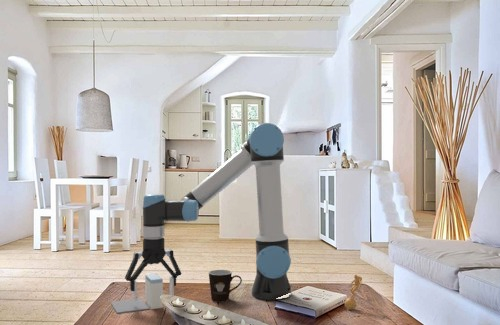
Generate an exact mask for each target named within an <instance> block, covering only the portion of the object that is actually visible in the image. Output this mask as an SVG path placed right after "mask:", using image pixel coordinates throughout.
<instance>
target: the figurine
mask: <svg viewBox="0 0 500 325" xmlns="http://www.w3.org/2000/svg"><path fill="white" fill-rule="evenodd" d="M353 277H354V279H353V280H352V282H351V283H350V285H349V286H352V287H351V288H350V289H349V292H350V293H351V296H349V297H347V298H346V299H345V301H344V307H345V309H348V310H349V311H353V310H354V309H356V307H357V302H356V300H355V297H356V292H360V289H361V287H362V281H363V278H362V276H359V275H357V274H354V276H353ZM353 284H354V285H353Z"/></svg>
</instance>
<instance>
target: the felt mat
mask: <svg viewBox="0 0 500 325" xmlns="http://www.w3.org/2000/svg"><path fill="white" fill-rule="evenodd" d="M110 305H111V306H112V308H113V310H114V311H115V313H116V314H125V313H133V312H140V311H147V310H151V308H150V307H149V306H148V305H147V304H146V302H145V300H143V299H142V298H137V301H134V299H133V298H132V299H125V300H117V301H110Z"/></svg>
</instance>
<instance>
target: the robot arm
mask: <svg viewBox="0 0 500 325" xmlns="http://www.w3.org/2000/svg"><path fill="white" fill-rule="evenodd" d="M284 137H285V136H284V133H283V132H282V130H281V129H280V128H279V126H278V125H275V123H274V124H273V123H270V122H264V123H263V122H262V123H259V124H257V125H255V126H254V127H253V129H252V130H251V131H250V134H249V137H248V139H247V140H246V141H245V142H243V143H242V144H241V145H240V146H241V148H240V149H239V150H238V151H237V152H236V153H235V154H233V155H232V156H231V157H230V158H228V159H227V160H226V161H225V162H223V163H222V164H221V166H219V167H218V168H217V169H216V170H215V171H212V173H211V174H209V175H208V176H207V177H206V178H204V180H202V181H201V182H200V183H199V184H197V185H196V186H195V187H194V188H193V189H192V190H190V191H189V192H188V193H187V194H186V195H184V196H183V197H182V198H181V199H166V198H165V195H164V194H162V193H150V194H149V193H148V194H144V196H143V202H142V203H143V204H142V217H143V218H142V220H143V222H142V225H143V226H142V237H143V238H142V252H136V251H134V253H133V259H132V261H131V263H130V266H129V267H128V268H127V272H126V274H125V276H124V279H125V280H126V281H127V282H129V284H130V285H129V286H130V288H129V289H130V291H131V292H132V295H133V296H132V299H134V301H137V299H138V282H137V279H138V277H139V276H140V275H141V273H142V272H143V271H144V269H145V268H146V267H148V265H154V264H155V265H158V264H162V266H163V267H164V268H165V269H166V270H167V272H168V273H169V274H170V276H169V288H168V290H169V293H168V294H169V295H170V296H171V295H172V296H171V297H174V287H176V286H177V278H178V277H179V276H181V275H182V272H181V268H180V266H179V265H178V263H177V260H176V259H175V256H174V251H173V250H172V249H168V250H165V222H169V221H170V222H173V221H174V222H195V221H197V220H198V218H199V210H200V209H202V208H203V207H204V206H205V205H206V204H208V203H209V202H210V201H211V200H212V199H214V198H215V197H216V196H217V195H219V194H220V193H221V192H222V191H223V190H225V189H226V188H227V187H228V186H229V185H231V183H233V182H234V181H235V180H237V179H238V178H239V177H241V175H243V174H244V173H245V172H246V171H247V170H248V169H250V168H251V167H252V166H254V167H255V177H256V178H255V179H256V180H255V181H256V192H257V193H256V195H257V213H258V215H257V216H258V229H259V230H258V231H259V232H258V233H259V234H258V235H257V237H255V254H256V259H255V266H256V275H255V279H254V281H253V283H252V284H253V285H252V288H251V296H252V297H253V298H256V299H258V300H259V299H260V300H265V301H276V300H275V299H276V298H278V297H281V296H283V295H286V294H288V293H291V294H292V287H291V284H290V282H289V278H288V273H287V272H288V271H289V269H290V267H291V264H292V262H291V261H292V259H291V255H290V247H289V237H288V235H287V234H285V232H284V216H283V202H282V201H283V200H282V198H283V197H282V182H281V164H282V163H283V162H284V160H285V158H284V142H285V138H284ZM165 256H167V257H168V259H169V260H170V263H171V265H172V267H173V268H171V267H170V265H169V264H168V263H167V261H166V260H165V259H164V257H165ZM141 257H142V258H143V260H142V261H141V263H140V264H139V266H138V267H137V268H136V266H137V264H138V262H139V260H140V259H141ZM135 268H136V270H135Z"/></svg>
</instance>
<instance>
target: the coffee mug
mask: <svg viewBox="0 0 500 325" xmlns="http://www.w3.org/2000/svg"><path fill="white" fill-rule="evenodd" d="M232 274H233V271H232V270H228V269H214V270H210V271H208V279H209V280H208V281H209V289H210V296H211V297H210V298H211V299H210V300H211V301H213V302H215V301H216V302H217V303H223V302H222V301H224V302H228V301H230V300H229V299H230V293H231V292H233V291H234V290H236V289H238V287H240V286H241V284H242V283H243V282H242V280H243V279H242V277H241V276H240V275H233V276H232ZM235 278H239V280H240V282H239V283H238V284H237V285H236V286H234V287H233V288H231V282H232V281H233V279H235Z"/></svg>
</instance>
